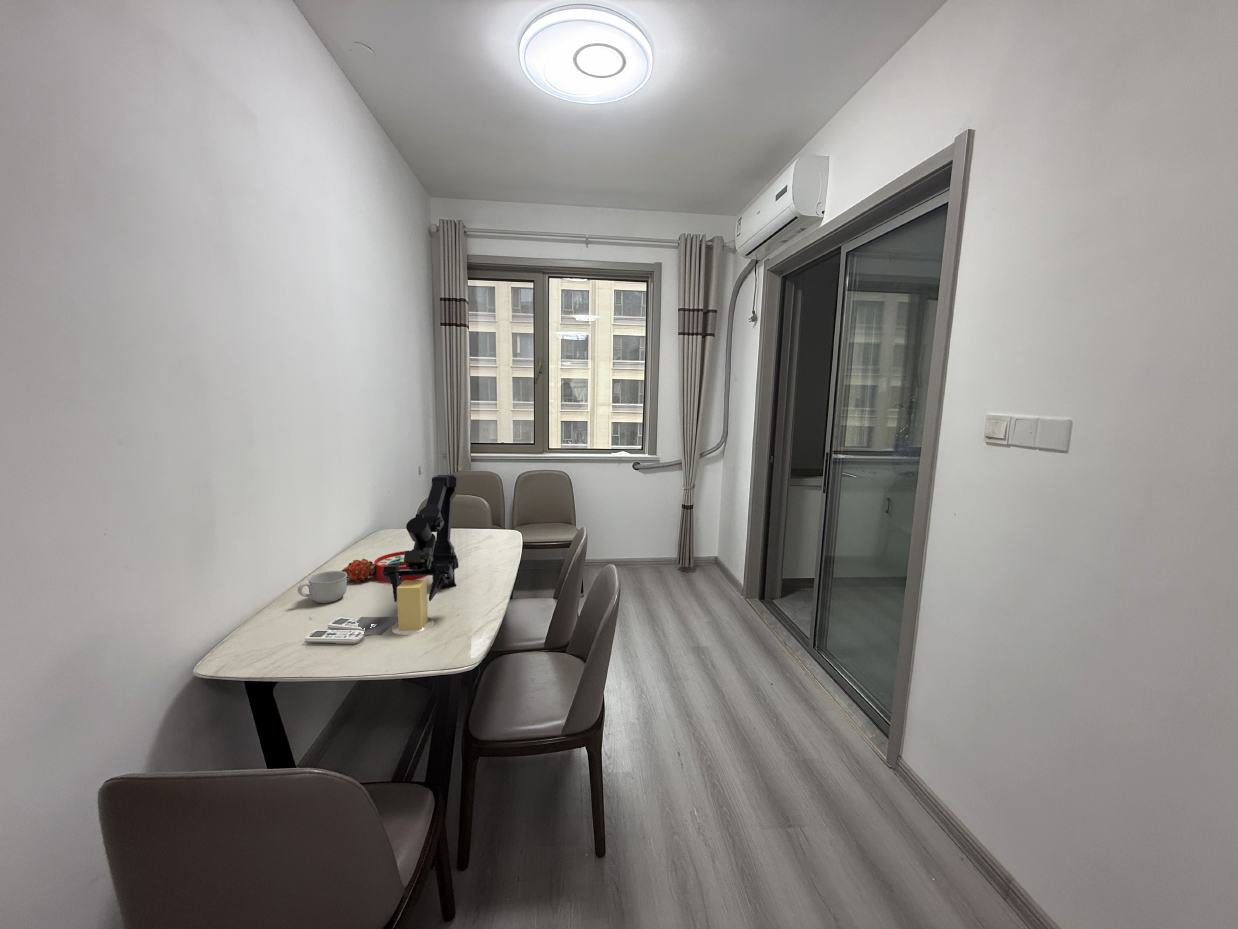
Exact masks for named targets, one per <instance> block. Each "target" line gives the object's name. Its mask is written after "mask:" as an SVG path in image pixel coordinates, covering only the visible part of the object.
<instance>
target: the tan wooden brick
mask: <svg viewBox="0 0 1238 929" xmlns="http://www.w3.org/2000/svg"><path fill="white" fill-rule="evenodd" d="M427 588H428V587H427V579H417V580H404V581H403V582H402V583H401V584H400V585H399V586H398V587H397V602H396V605H397V617H398V619H397V620H398V621H397V623H398V627H399V630H421V629H422V628H423V626H424V625H425V624H426V622H427V621H428V618H429V616H428V589H427Z"/></svg>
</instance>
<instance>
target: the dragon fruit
mask: <svg viewBox="0 0 1238 929" xmlns="http://www.w3.org/2000/svg"><path fill="white" fill-rule="evenodd" d="M375 567H376V566H375V564H374V562H373V561H372V560H368V559H366V558H362V559H361V560H359V559H354V560H352V562H349V563H348V565H347V566H346V567H344V568H343V569H341V571H343V572H346V573H347V582H348V581H349V582H350V581H351V582H355V583H357V584H358V583H360V582H362V581H364V582H366V581H368V580H369V578H371V577H375V574H376V573H375V571H376V570H375Z"/></svg>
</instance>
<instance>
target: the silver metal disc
mask: <svg viewBox="0 0 1238 929" xmlns="http://www.w3.org/2000/svg"><path fill="white" fill-rule="evenodd" d="M434 625H435V620H434V619H433V618H431V617H428V621H427V622H426V624H425V625H424V626H423V628H422V629H421V630H399V627H398V622H396V623H394V624H393V626H392V627H391V631H392V632H393V633H394V634H397V635H404V636H405V635H408V636H409V635H414V634H420V633H423V632H426V631H428V630H429V629H431V628H432V627H434Z"/></svg>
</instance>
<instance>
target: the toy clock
mask: <svg viewBox="0 0 1238 929" xmlns="http://www.w3.org/2000/svg"><path fill="white" fill-rule="evenodd" d="M405 551H406V550H403V551H396V552H395V551H394V552H391V553H388V554H384V555H381V556H379V557H377V558H376V559H375V560H374V562H373V564H375V566H376V567H375V570H376V571H375V573H376V574H375V576H374V579H376V581H379V582H382V583H389V584H391V583H390V582H388V581H386V579H385V578H384V577H383V575H382V574H381V573H382V569H383V568H384V567H385V566H386V565H398V566H399V567H400V569H409V567H407V566H406V562H405V563H404V553H405ZM425 577H427V576H402V579H401V580H400V581H401V582H403V581H404V580H421V579H423V578H425Z"/></svg>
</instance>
